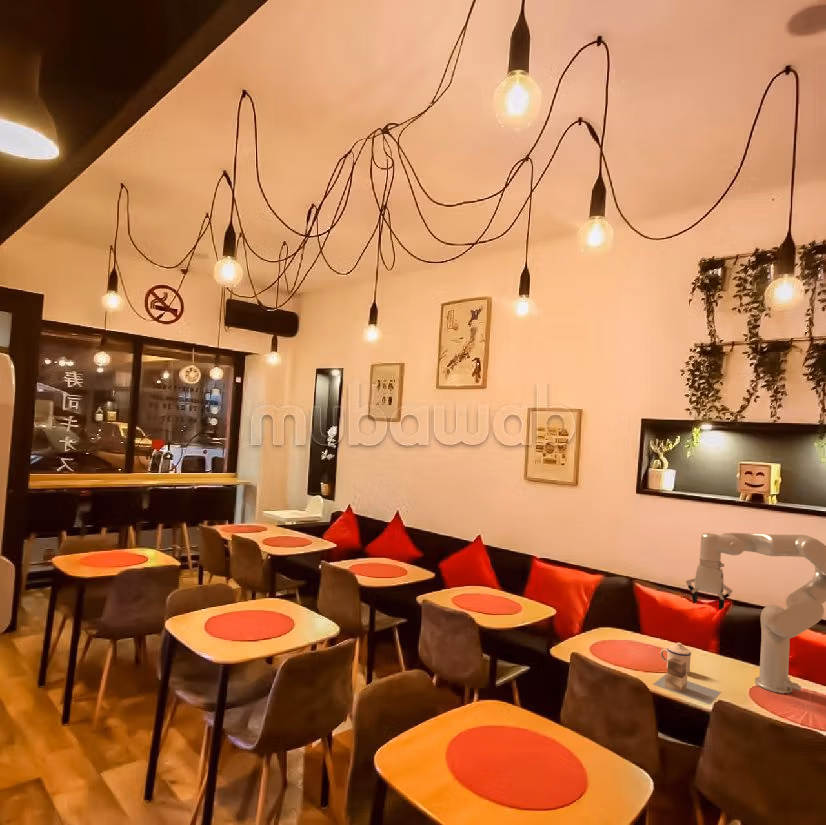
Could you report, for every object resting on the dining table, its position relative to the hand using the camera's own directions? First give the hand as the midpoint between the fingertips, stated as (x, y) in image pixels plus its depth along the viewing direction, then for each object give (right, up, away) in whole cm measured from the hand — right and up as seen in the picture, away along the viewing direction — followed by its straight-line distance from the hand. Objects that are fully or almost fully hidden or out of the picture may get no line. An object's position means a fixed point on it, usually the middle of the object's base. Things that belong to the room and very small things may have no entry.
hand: (707, 605), depth 231 cm
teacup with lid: (-13, -28, +2) cm, 31 cm away
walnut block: (-21, -20, -17) cm, 34 cm away
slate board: (-17, -27, -17) cm, 36 cm away
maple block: (-21, -25, -17) cm, 37 cm away
